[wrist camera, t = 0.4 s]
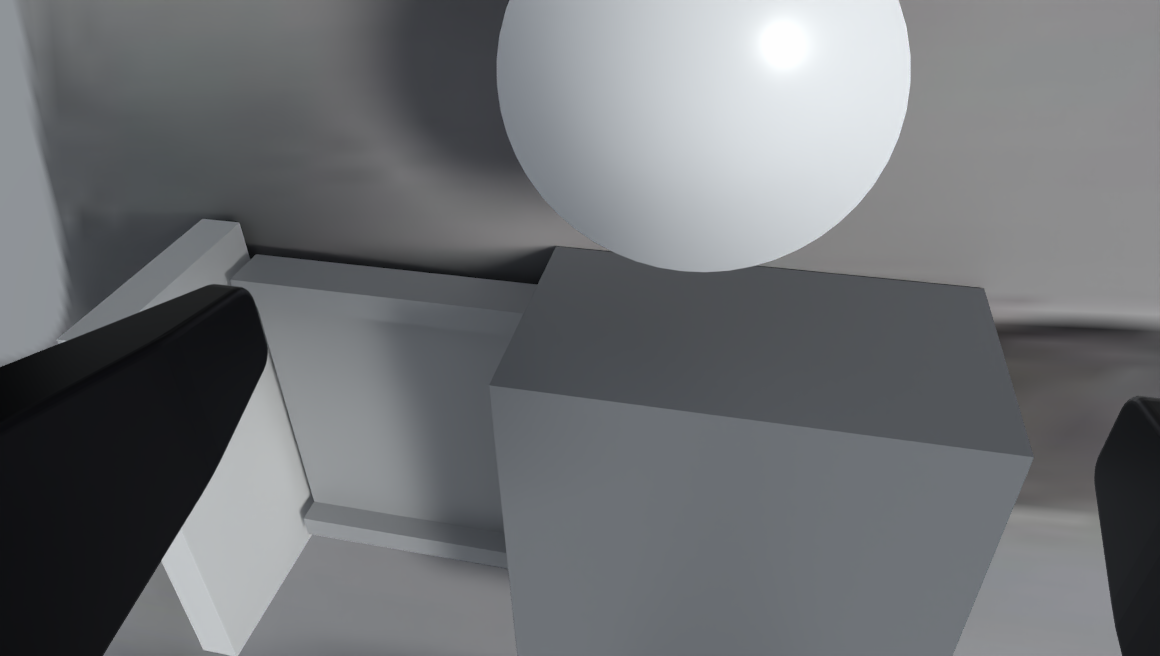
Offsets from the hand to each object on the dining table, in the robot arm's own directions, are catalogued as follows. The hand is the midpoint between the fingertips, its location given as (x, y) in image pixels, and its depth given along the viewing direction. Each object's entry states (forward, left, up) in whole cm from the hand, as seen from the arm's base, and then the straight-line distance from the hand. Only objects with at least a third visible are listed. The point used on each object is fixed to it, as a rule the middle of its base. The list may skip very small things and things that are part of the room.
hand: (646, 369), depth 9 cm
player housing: (-12, -1, -12) cm, 17 cm away
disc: (0, 0, -9) cm, 9 cm away
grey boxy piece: (-12, +8, -12) cm, 19 cm away
